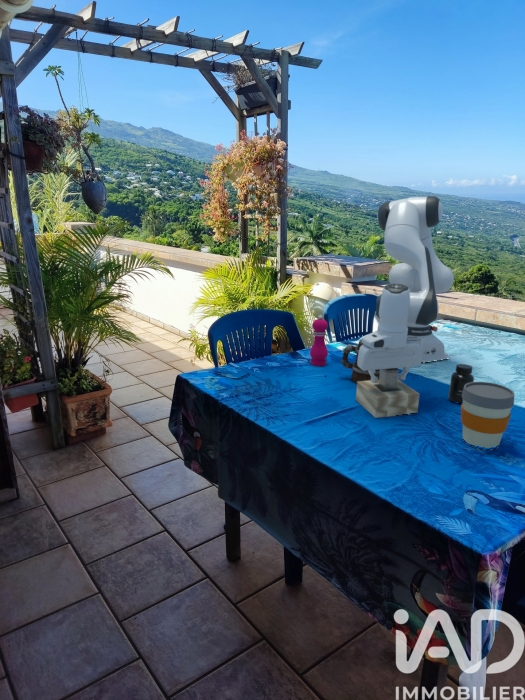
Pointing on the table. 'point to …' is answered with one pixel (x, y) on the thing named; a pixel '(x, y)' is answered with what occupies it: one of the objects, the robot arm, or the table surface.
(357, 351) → the mug
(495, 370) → the table surface
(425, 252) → the robot arm
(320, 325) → the pepper mill
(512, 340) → the table surface
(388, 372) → the grey rectangular bar
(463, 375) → the supplement bottle
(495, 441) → the reusable coffee cup
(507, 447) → the table surface
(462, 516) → the table surface
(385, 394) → the well block
